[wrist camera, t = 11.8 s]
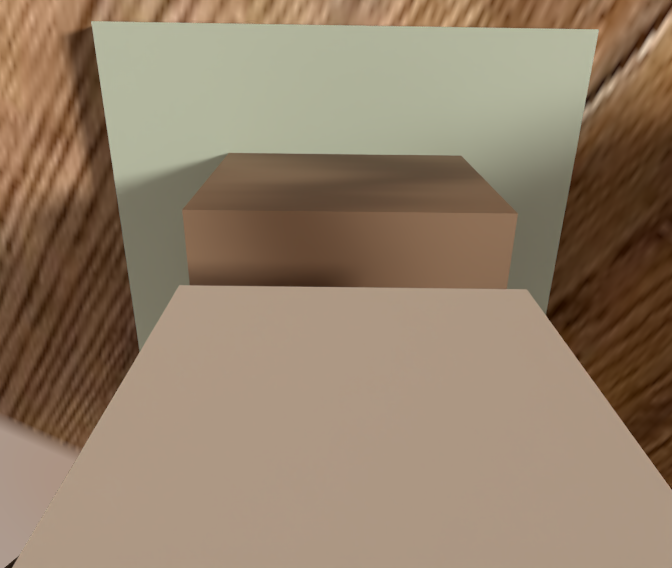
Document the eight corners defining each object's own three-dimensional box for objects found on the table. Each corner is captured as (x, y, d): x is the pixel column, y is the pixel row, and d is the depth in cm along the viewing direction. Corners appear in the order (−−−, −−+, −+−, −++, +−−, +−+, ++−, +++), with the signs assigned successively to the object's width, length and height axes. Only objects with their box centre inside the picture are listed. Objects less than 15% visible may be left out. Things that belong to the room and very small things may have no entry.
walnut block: (461, 155, 15) (518, 213, 10) (440, 355, 17) (479, 473, 13) (228, 153, 15) (182, 209, 10) (241, 353, 17) (208, 471, 13)
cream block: (526, 289, 8) (762, 614, 4) (484, 540, 10) (602, 948, 6) (179, 285, 8) (-13, 610, 4) (206, 538, 10) (106, 946, 6)
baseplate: (582, 29, 15) (598, 29, 14) (514, 416, 19) (523, 435, 19) (106, 21, 14) (91, 21, 13) (159, 412, 19) (151, 432, 18)
